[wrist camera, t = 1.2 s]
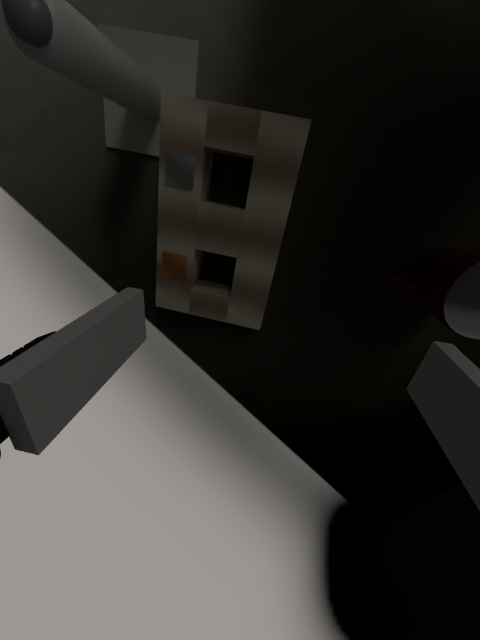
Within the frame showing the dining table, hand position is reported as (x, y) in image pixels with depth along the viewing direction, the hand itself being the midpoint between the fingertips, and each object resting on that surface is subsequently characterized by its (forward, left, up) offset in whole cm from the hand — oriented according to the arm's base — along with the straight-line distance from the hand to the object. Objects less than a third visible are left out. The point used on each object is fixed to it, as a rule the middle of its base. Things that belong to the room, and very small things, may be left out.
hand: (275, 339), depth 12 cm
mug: (-1, +17, -23) cm, 29 cm away
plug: (-12, -17, -22) cm, 30 cm away
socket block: (-1, -7, -23) cm, 24 cm away
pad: (-12, -17, -23) cm, 31 cm away
